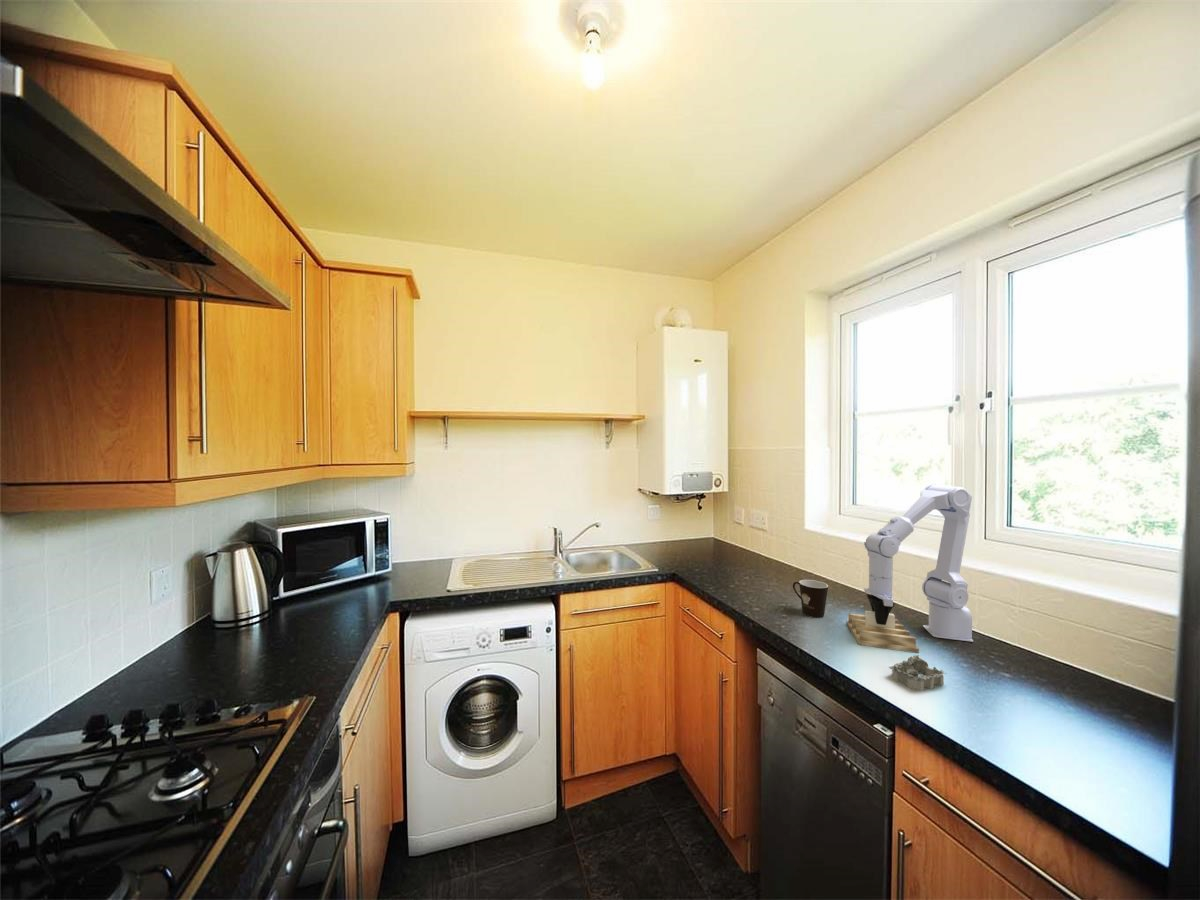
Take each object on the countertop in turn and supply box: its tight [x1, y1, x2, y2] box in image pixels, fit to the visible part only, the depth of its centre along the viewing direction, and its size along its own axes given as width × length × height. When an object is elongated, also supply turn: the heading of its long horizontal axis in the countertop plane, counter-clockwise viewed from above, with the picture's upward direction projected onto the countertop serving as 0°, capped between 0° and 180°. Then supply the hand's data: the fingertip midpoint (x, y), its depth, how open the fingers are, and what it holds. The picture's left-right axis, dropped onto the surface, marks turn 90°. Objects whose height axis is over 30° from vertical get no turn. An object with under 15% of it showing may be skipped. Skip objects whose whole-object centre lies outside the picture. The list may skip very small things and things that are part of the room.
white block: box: [864, 610, 896, 629], centre depth 122 cm, size 7×2×6 cm, turn 72°
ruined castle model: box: [889, 655, 947, 692], centre depth 99 cm, size 11×8×4 cm
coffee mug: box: [792, 579, 829, 619], centre depth 141 cm, size 12×9×10 cm
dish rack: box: [845, 613, 920, 654], centre depth 122 cm, size 14×15×4 cm
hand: (879, 622), depth 122 cm, fingers closed on white block, 2 cm apart
